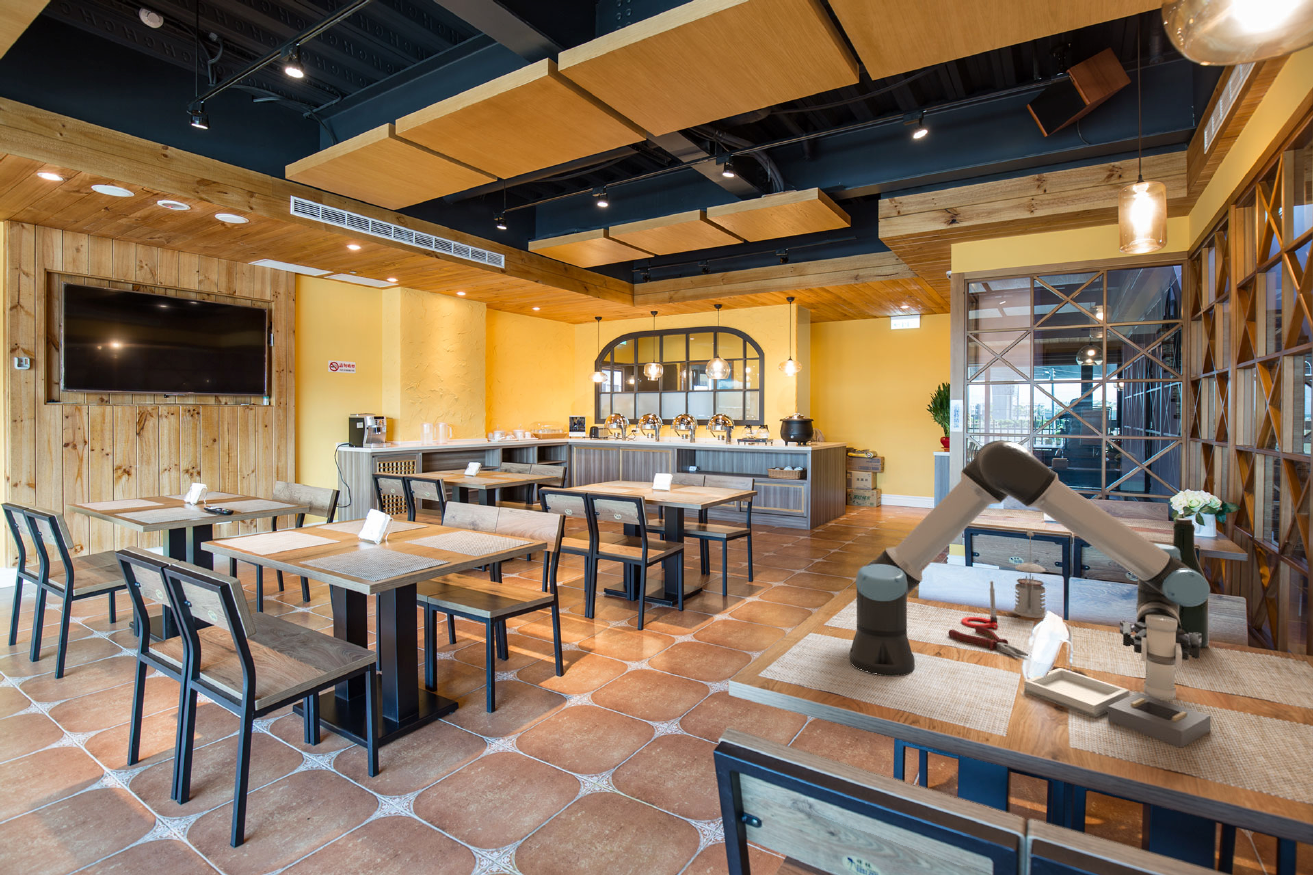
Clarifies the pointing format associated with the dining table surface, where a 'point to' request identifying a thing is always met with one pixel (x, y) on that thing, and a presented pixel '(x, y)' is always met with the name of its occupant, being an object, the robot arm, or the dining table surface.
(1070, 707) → the parts tray
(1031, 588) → the french press
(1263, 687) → the dining table surface
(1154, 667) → the cylinder
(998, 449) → the robot arm
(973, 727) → the dining table surface
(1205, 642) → the dark green wine bottle
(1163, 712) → the fuse socket
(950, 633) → the pliers
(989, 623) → the tow hook
